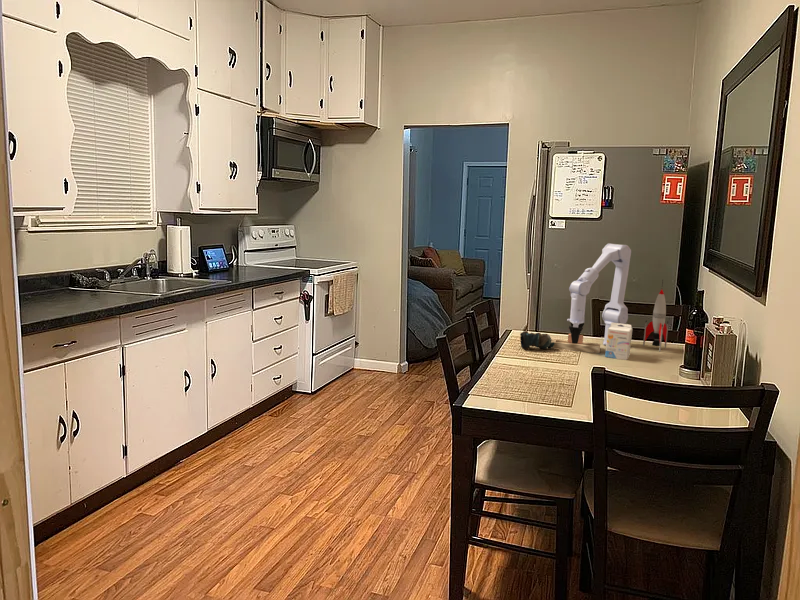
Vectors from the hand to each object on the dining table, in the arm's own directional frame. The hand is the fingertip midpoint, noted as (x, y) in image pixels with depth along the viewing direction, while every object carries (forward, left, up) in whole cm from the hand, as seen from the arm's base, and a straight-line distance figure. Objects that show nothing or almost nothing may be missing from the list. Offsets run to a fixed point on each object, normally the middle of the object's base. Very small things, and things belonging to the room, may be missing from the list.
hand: (575, 341), depth 257 cm
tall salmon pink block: (0, 0, -3) cm, 3 cm away
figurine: (+15, +8, -3) cm, 17 cm away
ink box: (-17, +6, -3) cm, 18 cm away
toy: (-33, -16, -3) cm, 37 cm away
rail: (0, 0, -3) cm, 3 cm away
